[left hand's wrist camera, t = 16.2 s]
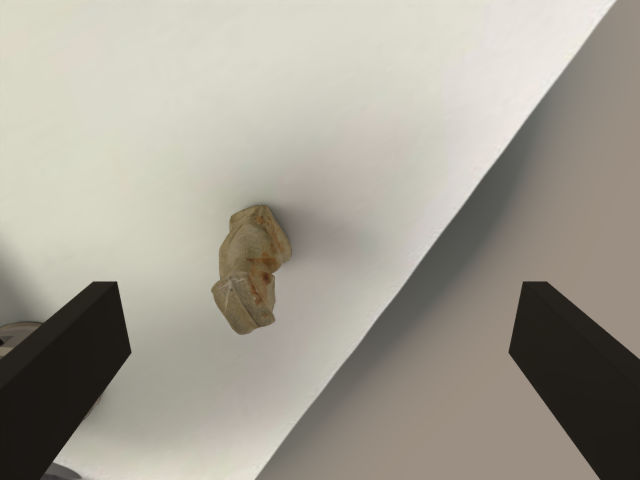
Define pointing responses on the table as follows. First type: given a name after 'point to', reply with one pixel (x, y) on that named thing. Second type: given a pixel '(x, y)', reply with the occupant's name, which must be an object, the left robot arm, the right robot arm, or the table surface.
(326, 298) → the table surface
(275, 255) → the sculpture
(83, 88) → the table surface
